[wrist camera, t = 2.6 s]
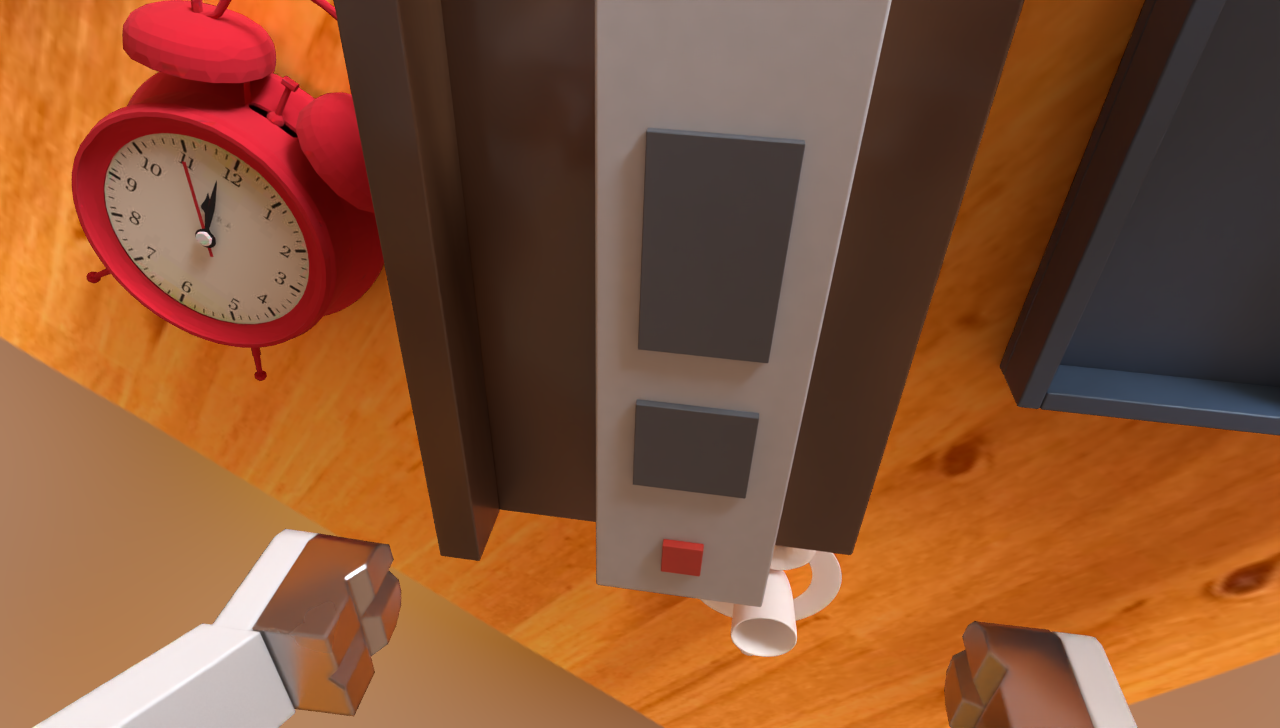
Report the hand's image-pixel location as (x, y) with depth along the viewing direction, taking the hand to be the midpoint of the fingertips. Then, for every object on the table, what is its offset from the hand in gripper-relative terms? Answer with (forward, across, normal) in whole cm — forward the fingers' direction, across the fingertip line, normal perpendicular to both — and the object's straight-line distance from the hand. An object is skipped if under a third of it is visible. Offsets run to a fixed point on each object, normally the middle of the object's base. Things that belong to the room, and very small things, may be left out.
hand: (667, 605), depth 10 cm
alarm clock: (+19, +17, +2) cm, 25 cm away
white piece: (+19, -7, +21) cm, 29 cm away
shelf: (+19, +1, 0) cm, 19 cm away
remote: (+9, 0, 0) cm, 9 cm away
